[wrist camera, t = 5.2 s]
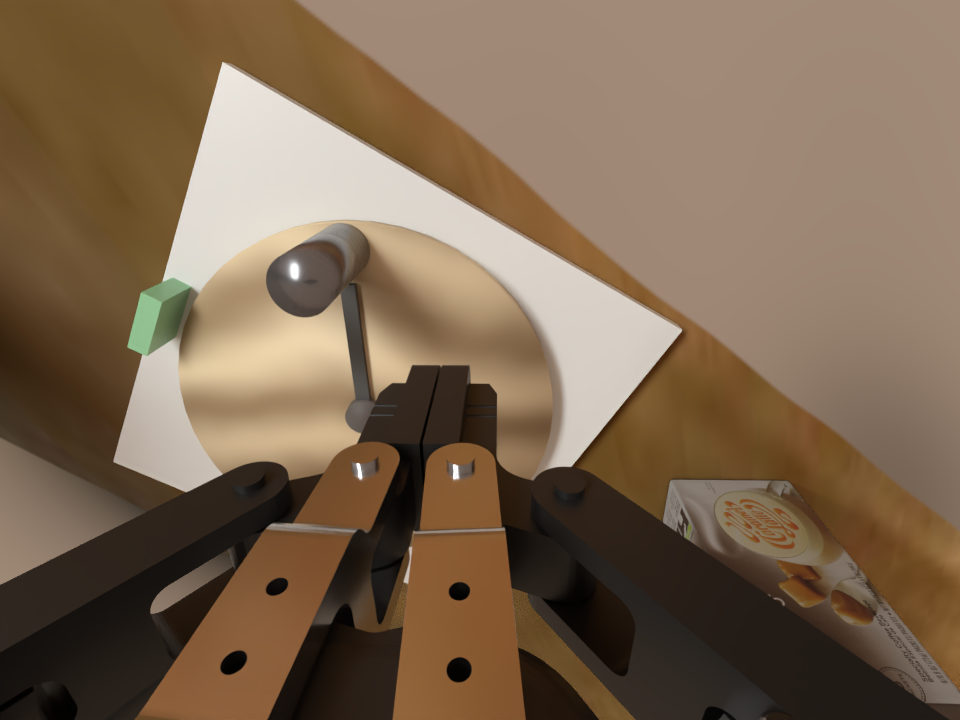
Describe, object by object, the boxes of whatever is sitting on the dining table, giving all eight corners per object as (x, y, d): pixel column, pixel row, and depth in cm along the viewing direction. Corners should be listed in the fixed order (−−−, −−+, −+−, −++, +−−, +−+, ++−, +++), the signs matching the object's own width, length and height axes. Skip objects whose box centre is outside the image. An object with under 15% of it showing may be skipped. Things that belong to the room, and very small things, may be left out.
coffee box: (658, 539, 40) (745, 773, 26) (669, 476, 37) (774, 700, 23) (773, 540, 40) (928, 780, 25) (793, 477, 37) (980, 706, 23)
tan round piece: (543, 541, 39) (552, 636, 32) (234, 535, 40) (176, 625, 33) (562, 217, 28) (582, 251, 21) (137, 221, 29) (17, 254, 22)
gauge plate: (122, 453, 39) (83, 488, 35) (232, 63, 27) (189, 55, 23) (459, 595, 44) (456, 637, 40) (677, 324, 32) (699, 350, 28)
